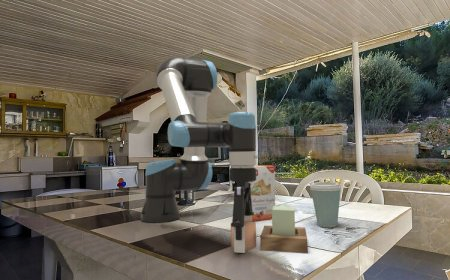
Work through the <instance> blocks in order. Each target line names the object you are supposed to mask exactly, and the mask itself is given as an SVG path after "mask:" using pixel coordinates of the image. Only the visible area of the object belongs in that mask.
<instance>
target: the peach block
mask: <svg viewBox="0 0 450 280" xmlns="http://www.w3.org/2000/svg"><path fill="white" fill-rule="evenodd" d="M244 226H245V251H246V250H252V249H254V248H256V247H257V223H256V222H255V221H252V222H251V221H244ZM230 247H231V248H233V249H234V227H231V226H230Z"/></svg>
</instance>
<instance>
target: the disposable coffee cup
mask: <svg viewBox="0 0 450 280" xmlns="http://www.w3.org/2000/svg"><path fill="white" fill-rule="evenodd" d="M309 188H310V191H311V197H312V202H313V207H314V211H315V213H314V214H315V217H316V223H317V224H318V227H321V228H335V227H337V225H338V223H339V211H340V210H339V209H340V200H341V190H342V188H341V186H340V184H339V182H335V181H319V182H318V181H317V182H313V183H311V185H310V187H309Z"/></svg>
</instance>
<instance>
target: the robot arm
mask: <svg viewBox="0 0 450 280" xmlns="http://www.w3.org/2000/svg"><path fill="white" fill-rule="evenodd" d="M155 80H156V84H157V86H158V87H159V89H160V90H162V91H161V92H162V94H163V97H164V100H165V105H166V107H167V110H168V114H169V118H170V123H168V127H167V141H168V143H169V145H170V146H172V147H177V148H178V147H180V148H184V149H183V155H181V156H180V157H179V158H180V159H179V162H177V161H176V159H175V158H171V159H163V160H156V161H150V162H148V163H147V164H146V165H145V174H144V176H145V201H144V204H143V207H142V210H141V212H140V220H141V221H142V222H144V223H145V222H146V223H166V222H167V223H168V222H173V221H176V220H179V219H180V216H181V215H180V213H181V212H180V209H179V206H178V203H177V200H176V192H179V191H181V192H182V191H199V190H205V189H207V188H208V187H209V186H210V184H211V181H212V178H213V166H212V164H211V162H209V158H208V157H207V156H206V154H205V151H206V150H205V148H223V149H225V148H226V149H229V150H228V156H229V157H228V159H229V161H228V163H229V164H228V165H229V166H230V168H229V169H228V170H229V181H231V182H232V183H233V182H234V183H235V182H236V186H234V187H233V207H232V221H231V223H230V228H231V227H234V248H233V252H234V253H237V254H238V253H241V254H245V253H246V250H245V226H244V221H251V222H253V221H252V216H250V215H254V212H252V211H253V209H252V200H251V184H250V183H248V182H253V181H256V169H255V168H254V166H257V160H256V159H258V158H259V156H258V155H257V154H256V151H257V150H256V149H257V147H256V145H257V141H256V140H257V139H256V138H257V136H256V135H257V132H256V131H257V125H256V115H255V114H254V113H253V112H250V111H235V112H231V113H230V114H229V115H228V116H229V117H228V121H227V122H207V110H208V98H209V96H211V95H212V91H213V90H215V89H216V88H217V83H218V72H217V68H216V66H215V64H214V62H212V61H210V60H205V59H203V58H202V59H199V58H198V59H197V58H193V57H192V58H191V57H185V56H184V57H183V56H170V57H168V58H166V59H165V60H163V61H162V62H161V63H160V64H159V66H158V67H157V70H156V74H155Z"/></svg>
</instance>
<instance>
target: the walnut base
mask: <svg viewBox="0 0 450 280" xmlns="http://www.w3.org/2000/svg"><path fill="white" fill-rule="evenodd" d="M260 233H261V234H260V238H259V240H260V242H259V244H260V246H259V247H260V248H259V249H260V251H269V252H270V251H271V252H273V251H274V252H287V253H302V254H308V250H309V249H308V235H307V230H306V227H305V226H304V227H301V226H295V236H286V235H272V225H263V228H262V231H261V232H260Z"/></svg>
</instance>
